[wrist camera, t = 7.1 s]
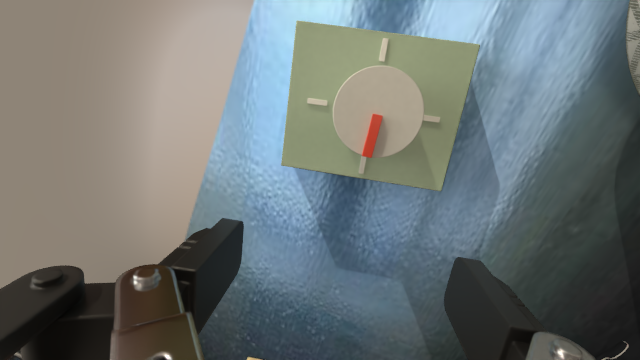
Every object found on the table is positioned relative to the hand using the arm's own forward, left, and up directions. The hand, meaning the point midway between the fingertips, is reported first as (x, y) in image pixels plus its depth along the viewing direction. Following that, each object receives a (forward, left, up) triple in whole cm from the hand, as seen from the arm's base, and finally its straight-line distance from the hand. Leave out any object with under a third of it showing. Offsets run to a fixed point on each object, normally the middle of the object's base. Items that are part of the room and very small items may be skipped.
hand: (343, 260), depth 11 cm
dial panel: (+1, +5, -15) cm, 16 cm away
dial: (+1, +5, -12) cm, 13 cm away
